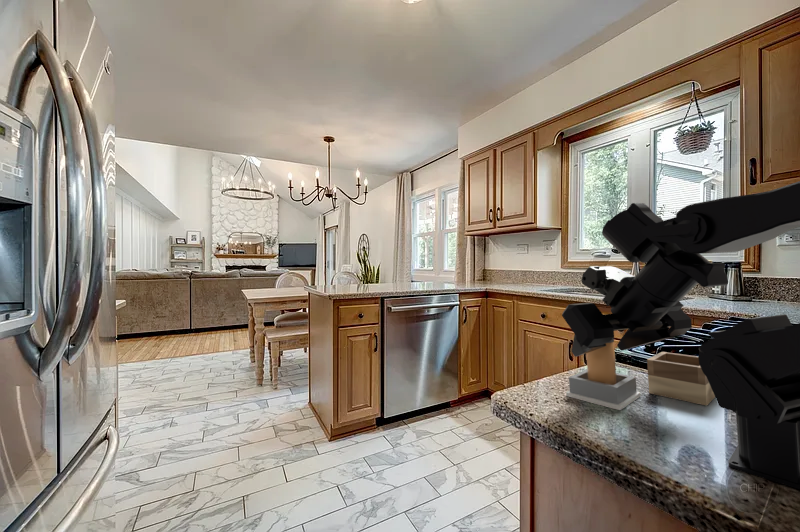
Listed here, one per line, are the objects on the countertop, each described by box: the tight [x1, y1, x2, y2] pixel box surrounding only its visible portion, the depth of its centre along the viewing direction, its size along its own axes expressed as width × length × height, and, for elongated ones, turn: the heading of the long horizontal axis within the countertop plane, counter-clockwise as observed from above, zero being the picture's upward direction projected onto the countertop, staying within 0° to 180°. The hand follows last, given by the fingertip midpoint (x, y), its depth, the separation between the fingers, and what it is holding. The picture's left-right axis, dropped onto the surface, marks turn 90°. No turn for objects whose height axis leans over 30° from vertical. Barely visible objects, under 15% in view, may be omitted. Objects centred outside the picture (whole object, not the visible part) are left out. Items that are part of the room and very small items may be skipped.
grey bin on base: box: [565, 368, 642, 411], centre depth 56 cm, size 8×8×3 cm
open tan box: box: [646, 351, 716, 406], centre depth 55 cm, size 7×7×6 cm
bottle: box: [586, 337, 617, 385], centre depth 56 cm, size 4×4×10 cm
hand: (597, 350), depth 56 cm, fingers open, 9 cm apart
